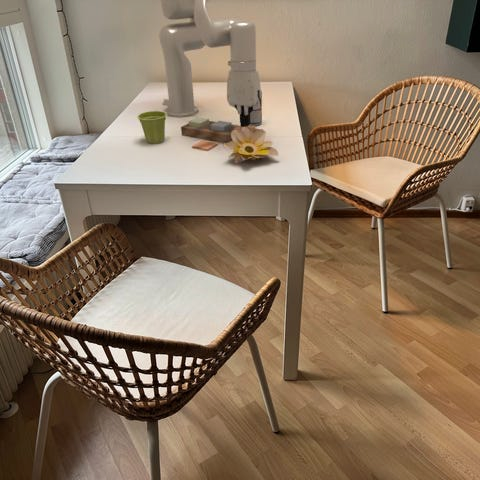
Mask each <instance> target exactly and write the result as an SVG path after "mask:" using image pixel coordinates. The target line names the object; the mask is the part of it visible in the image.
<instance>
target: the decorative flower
mask: <svg viewBox="0 0 480 480" xmlns="http://www.w3.org/2000/svg"><path fill="white" fill-rule="evenodd" d="M266 135H267V132H266V131H265V130H264V129H263V130H258V131H256V132H254V133H253V132H252V131H251V130H250V129H248V128H247V127H242V131H241V130H233V131H232V132H231V138H232V140H233V141H231V142H228V143H226V144H225V143H223V146H224V147H225V148H227V149H229V150H231V152H232V153H231V154H229V155H228V158H232V157H235V158H234V162H235V164H239V163H243V162H245V161H247V160H250V159H251V160H252V161H256V159H259V158H261V159H265V157H266V158H267V157H279V151H278V150H277V149H276V148H275V147H272V146H273V142H272V141H270V140H265V138H266Z"/></svg>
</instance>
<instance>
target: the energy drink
mask: <svg viewBox="0 0 480 480" xmlns="http://www.w3.org/2000/svg"><path fill="white" fill-rule="evenodd" d="M262 93H263V92H262V91H261V102H260V109H257V110H253V111H252V112H251V113H250V125H249V126H255V127H257V126H261V125H262V123H263V120H262V119H263V116H262V115H263V113H262V111H263V110H262V109H263V104H262V103H263V97H262V95H263V94H262Z"/></svg>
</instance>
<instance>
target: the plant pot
mask: <svg viewBox="0 0 480 480" xmlns="http://www.w3.org/2000/svg"><path fill="white" fill-rule="evenodd" d="M167 116H168V115H167V113H166V111H163V110H162V111H161V110H149V111H144V112H141V113H139V114H137V119H138V120H139V122H140V125H141V126H142V127H141V128H142V130H143V131H142V132H143V134H144V135H143V136H144V138H145V141H146V143H148V144H150V143H151V144H159V143H163V141H165V135H166V134H165V131H166V127H165V126H166V119H167V118H166V117H167Z"/></svg>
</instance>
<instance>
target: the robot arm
mask: <svg viewBox="0 0 480 480" xmlns="http://www.w3.org/2000/svg"><path fill="white" fill-rule="evenodd" d="M209 1H210V0H160V3H161V11H162V15H163V16H164V18H166V19H167V20H173V21H175V20H176V21H177V20H186V19H187V20H188V19H189V21H187V22H178V23H175V22H174V23H168V24H167V25H164V26H163V27H161V29H160V30H159V34H158V35H159V36H158V38H159V42H160V46H161V50H162V55H163V59H164V68H165V78H166V85H167V95H168V98H164V99H163V101H162V103H161V104H162V106H166V107H167V108H166V109H165V113H167V116H169V117H175V118H177V117H178V118H185V117H191V116H195V115H196V114H198V113H199V111H200V110H199V109H200V108H199V107H198V106H196V105H195V97H194V86H193V85H194V83H193V72H192V71H193V70H192V64H191V63H192V62H191V61H190V60H189V58H188V57H187V56H186V53H185V52H189V51H195V50H201V49H202V48H204V47H205V46H206V47H208V48H212V49H214V48H220V47H228V46H230V47H229V48H230V60H228V61H227V66H229V67H230V70H229V71H228V73H227V83H226V84H227V85H226V101H227V103H228V105H229V106H230V107H232V108H234V109H236V111H237V114H238V115H239V123H240V125H241V127H247V126H250V113H251V112H252V111H253V110H257V109H260V102H261V92H262V88H261V81H260V80H261V79H260V75H259V71H258V70H257V47H256V46H257V44H256V43H257V41H256V39H257V38H256V37H257V36H256V32H257V31H256V25H255V23H254V22H253V21H251V20H243V19H241V18H238V17H230V18H220V19H219V18H218V19H212V18H211V17H210V15H209V12H208V9H207V3H208V2H209Z"/></svg>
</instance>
